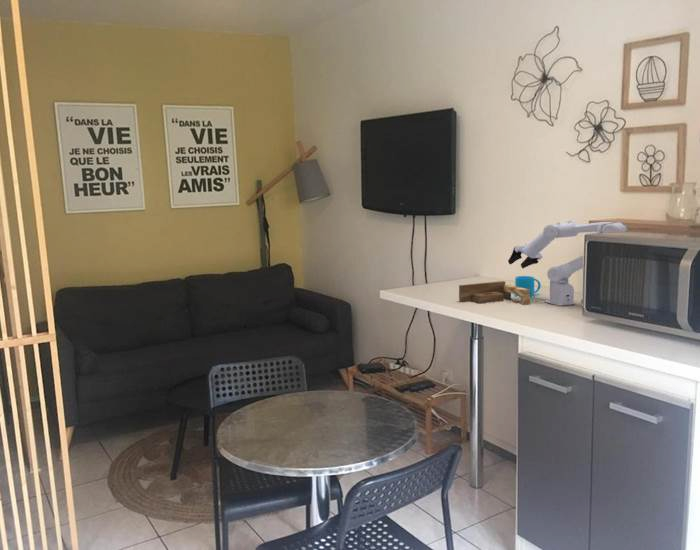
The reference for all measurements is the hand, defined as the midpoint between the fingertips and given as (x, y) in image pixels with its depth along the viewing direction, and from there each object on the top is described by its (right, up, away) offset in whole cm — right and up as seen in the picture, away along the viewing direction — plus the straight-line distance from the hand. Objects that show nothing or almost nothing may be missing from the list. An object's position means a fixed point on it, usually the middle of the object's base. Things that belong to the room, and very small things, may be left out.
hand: (515, 264), depth 274 cm
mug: (+8, -14, +7) cm, 17 cm away
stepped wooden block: (-13, -16, -4) cm, 21 cm away
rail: (-1, -16, -6) cm, 17 cm away
